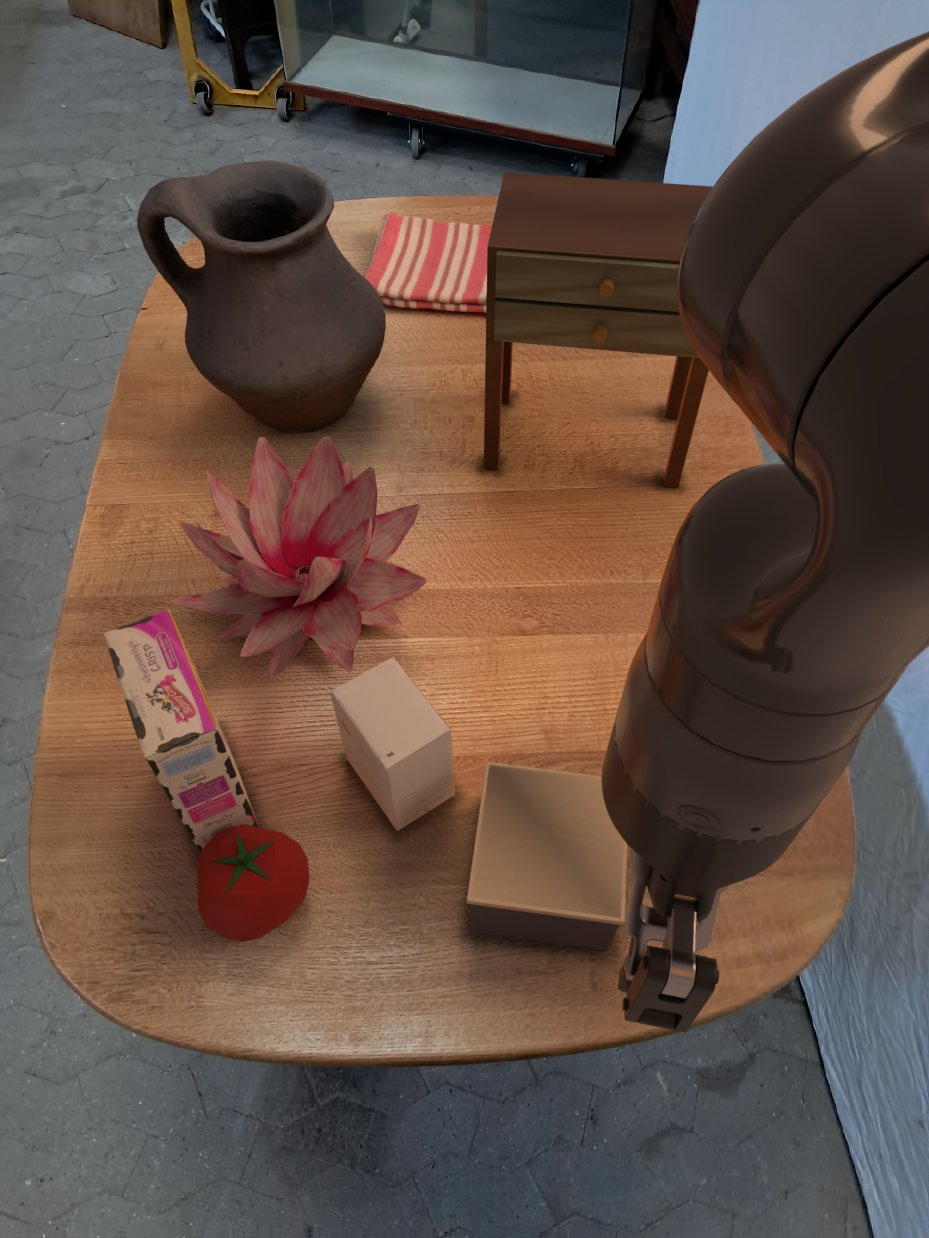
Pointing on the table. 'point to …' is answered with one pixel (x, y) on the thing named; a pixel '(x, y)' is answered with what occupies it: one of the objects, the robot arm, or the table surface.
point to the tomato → (250, 881)
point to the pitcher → (267, 291)
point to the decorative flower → (304, 557)
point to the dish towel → (430, 264)
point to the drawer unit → (590, 284)
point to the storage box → (546, 859)
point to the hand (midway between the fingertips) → (647, 898)
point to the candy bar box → (178, 727)
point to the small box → (395, 742)
